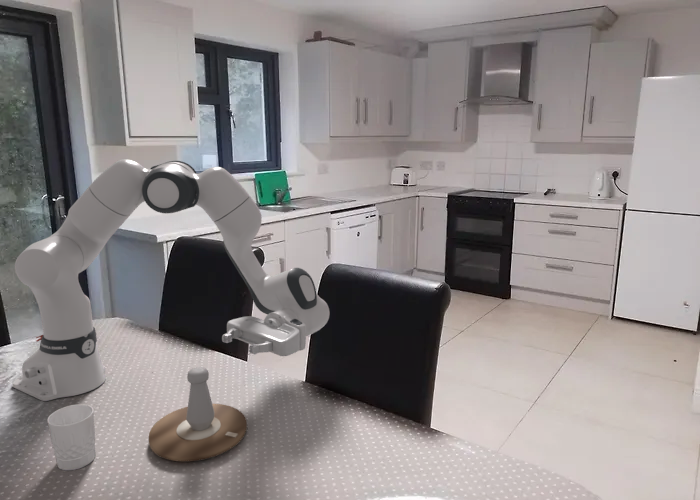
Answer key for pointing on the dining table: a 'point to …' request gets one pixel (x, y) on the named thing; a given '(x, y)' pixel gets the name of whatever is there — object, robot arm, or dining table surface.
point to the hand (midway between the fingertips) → (237, 344)
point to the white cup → (73, 436)
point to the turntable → (197, 435)
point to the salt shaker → (199, 400)
